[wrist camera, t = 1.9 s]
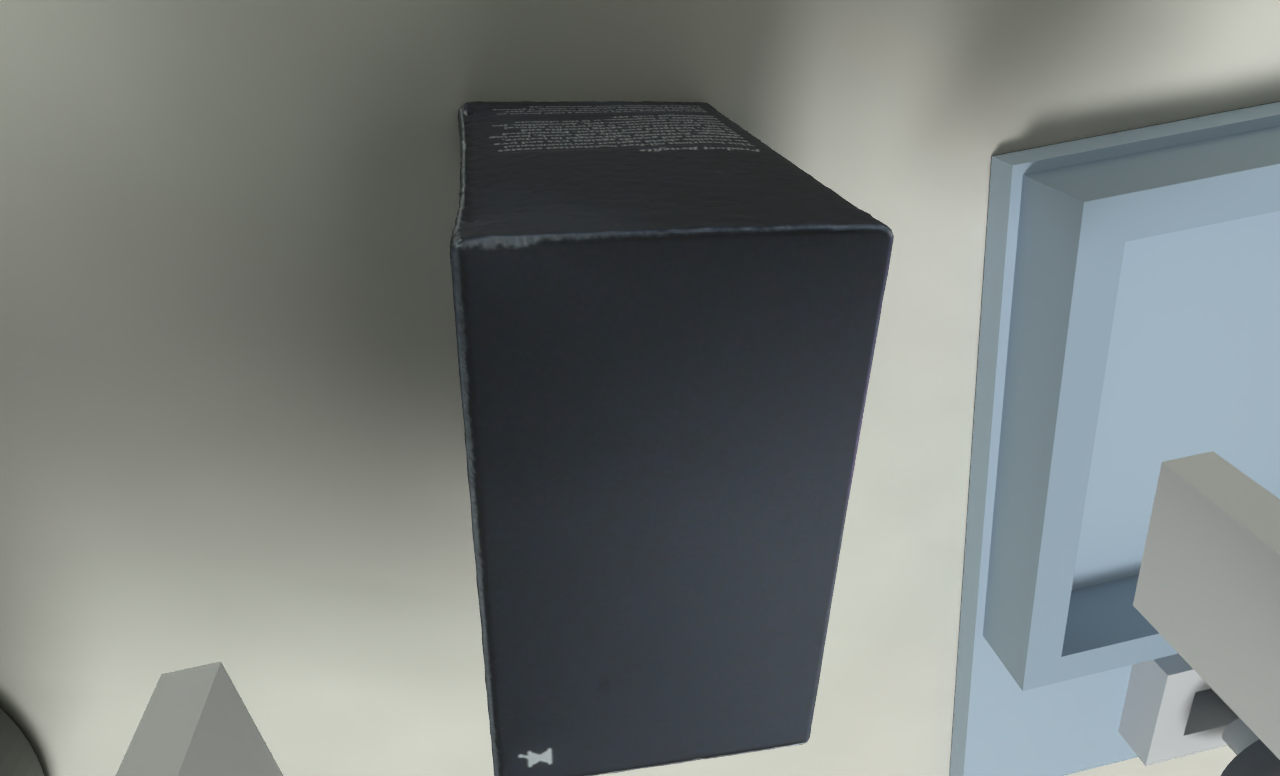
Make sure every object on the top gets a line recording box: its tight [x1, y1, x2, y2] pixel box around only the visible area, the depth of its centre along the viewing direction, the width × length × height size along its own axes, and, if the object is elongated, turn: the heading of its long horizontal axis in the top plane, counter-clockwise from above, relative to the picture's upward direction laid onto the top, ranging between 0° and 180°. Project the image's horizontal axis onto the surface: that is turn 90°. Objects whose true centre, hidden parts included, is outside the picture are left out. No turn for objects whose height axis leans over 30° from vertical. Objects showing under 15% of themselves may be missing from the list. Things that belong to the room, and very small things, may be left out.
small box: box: [450, 101, 894, 776], centre depth 18 cm, size 11×6×10 cm, turn 179°
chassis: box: [950, 102, 1280, 776], centre depth 28 cm, size 18×26×4 cm
